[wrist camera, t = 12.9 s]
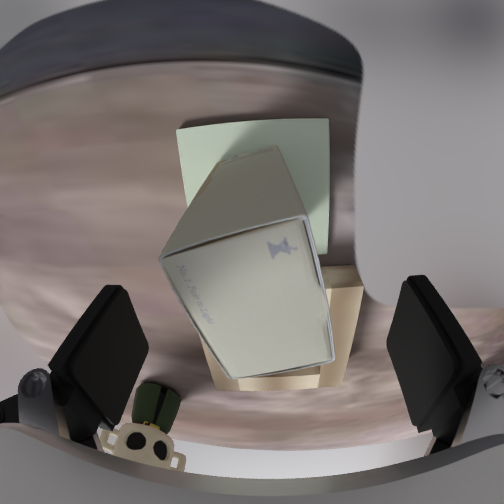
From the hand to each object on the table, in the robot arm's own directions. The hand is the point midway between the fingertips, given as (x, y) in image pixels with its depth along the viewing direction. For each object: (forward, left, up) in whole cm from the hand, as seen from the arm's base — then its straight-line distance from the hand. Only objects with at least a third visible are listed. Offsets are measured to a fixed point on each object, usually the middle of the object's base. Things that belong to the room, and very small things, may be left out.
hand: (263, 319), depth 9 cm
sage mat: (0, -1, -12) cm, 12 cm away
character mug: (+15, +25, -13) cm, 32 cm away
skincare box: (0, 0, -12) cm, 12 cm away
